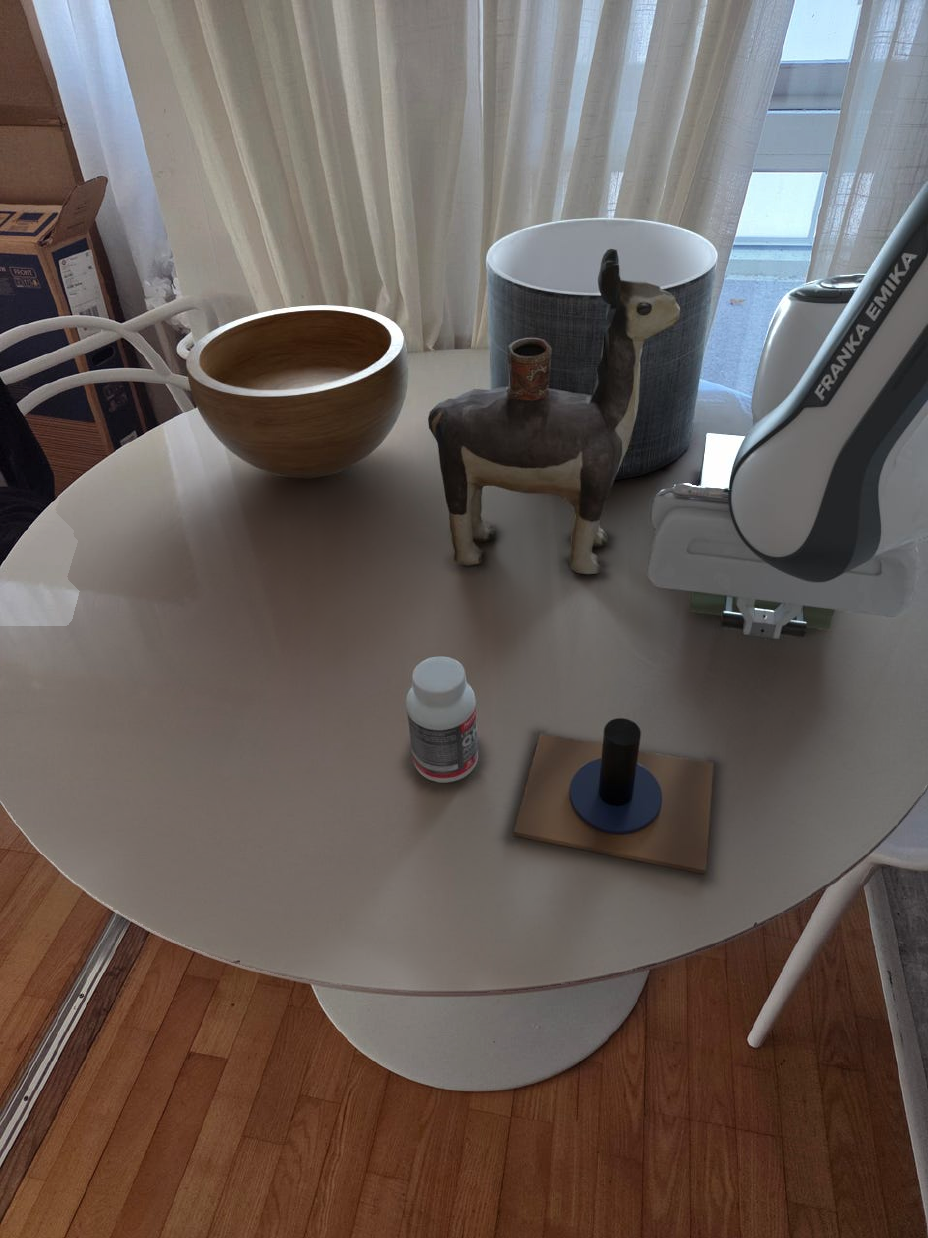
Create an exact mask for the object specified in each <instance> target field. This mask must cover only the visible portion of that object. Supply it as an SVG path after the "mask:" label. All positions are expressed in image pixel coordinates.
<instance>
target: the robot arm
mask: <svg viewBox="0 0 928 1238" xmlns="http://www.w3.org/2000/svg"><path fill="white" fill-rule="evenodd" d="M751 393H752V394H751V399H750V409H751V415H752V421H751V422H752V424H751V428H750V429H749V430H748V431H747V433H746V434H745V436H744V439H743V441H742V443H741V445H740V447H739V450H738V452H737V454H736V457H735V460H734V463H733V467H732V470H731V475H730V481H729V488H725V487H714V486H709V487H708V486H705V487H704V486H702V487H701V486H699V485H698V486H697V485H692V484H691V483H684V482H683V483H679V482H678V483H674V484H673V487H666V488H663V489H661V490H659V491H658V492H657V493H656V494H655V495H654V497H653V498H652V501H651V506H650V507H651V508H650V522H651V524H652V526H653V527H654V529H655V532H654V536H653V540H652V545H651V549H650V554H649V561H648V565H647V566H648V567H647V573H646V574H647V575H646V576H647V577H648V578H649V580H650V581H651V582H652V584H653V585H654V586H655V587H658V588H664V589H672V590H680V591H686V592H687V591H688V592H693V591H695V592H702V593H710V594H718V595H725V596H733V597H737V606H738V608H739V610H740V612H741V614H742V616H743V617H744V625H743V629H742V634H743V635H747V636H753V637H754V636H755V637H762V638H769V639H777V640H779V639H780V637H781V635H780V633H781V629H782V625H783V626H784V625H785V624H787V623H788V622H789V621H791V620H792V619H793V618H795V617H796V616H797V615H799V614H800V613H801V610H802V606H810V607H818V608H826V609H834V611H841V612H842V611H843V612H850V613H857V614H866V615H873V616H881V617H887V618H895V617H896V616H899V615H901V614H902V613H904V612H905V611H908V609H909V608H910V606H911V604H912V602H913V598H914V595H915V592H916V588H917V585H918V579H919V574H920V565H921V564H920V557H919V551H918V543H919V542H920V540H921V539H922V538H924V537H927V536H928V179H927V180H926V181H925V183H924V184H923V186H922V187H921V188H920V190H919V191H918V193H917V194H916V196H915V197H914V199H913V200H912V201H911V203H910V205H909V206H908V208H907V209H906V211H905V212H904V213H903V215H902V217H901V219H899V221H898V223H897V224H896V226H895V227H894V229H893V231H892V232H891V234H890V235H889V237H888V239H887V240H886V242H885V243H884V245H883V246H882V248H881V250H879V252H878V255H877V256H876V257H875V259H874V261H873V262H872V263H871V266H870V267H869V269H868V271H866V273H854V274H845V275H839V274H838V275H834V276H833V275H832V276H828V277H824V278H820V279H816V280H813V281H810V282H807V283H803V284H800V285H799V286H796V287H794V289H792V290H790V291H789V292H787V293H786V294H785V296H783V298H782V300H781V301H780V303H779V305H778V306H777V308H776V310H775V312H774V314H773V316H772V319H771V321H770V323H769V326H768V330H767V333H766V335H765V339H764V342H763V345H762V349H761V353H760V357H759V360H758V365H757V369H756V373H755V379H754V384H753V388H752V392H751ZM755 599H756V600H764V601H772V602H780V603H782V604H781V605H780V606H779V607H778V608H777V609H776V610H775V611H770V610H762V609H756V608H755V607H754V603H755Z"/></svg>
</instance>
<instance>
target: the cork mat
mask: <svg viewBox="0 0 928 1238" xmlns="http://www.w3.org/2000/svg"><path fill="white" fill-rule="evenodd" d="M602 747H603V743H598V742H593V741H587V740H582V739H575V738H569V737H563V736H557V735H551V734H546V733H539V736H538V740H537V742H536V747H535V751H534V754H533V758H532V762H531V765H530V769H529V772H528V777H527V780H526V783H525V788H524V791H523V795H522V799H521V802H520V806H519V810H518V813H517V817H516V821H515V825H514V829H513V836H515V837H519V838H523V839H527V840H528V839H529V840H533V841H539V842H543V843H549V844H553V845H558V846H563V847H569V848H574V849H578V850H584V851H589V852H593V853H599V854H603V855H608V856H613V857H618V858H623V859H628V860H634V861H637V862H643V863H647V864H653V865H658V866H662V867H667V868H673V869H678V870H684V871H688V872H693V873H697V874H703V875H706V872H707V864H708V852H709V851H708V850H709V835H710V822H711V808H712V793H713V780H714V779H713V778H714V777H713V776H714V767H715V766H714V762H709V761H703V760H697V759H691V758H686V757H685V758H684V757H680V756H674V755H668V754H663V753H657V752H652V751H651V752H650V751H645V750H640V749H639V752H638V760H637V763H638V764H640V765H641V766H643V767H644V768H646V769H647V770H648V771H649V772H651V773H652V775H653V776H654V777H655V778H656V780H657V781H658V783H659V785H660V788H661V791H662V805H661V809H660V812H659V814H658V816H657V818H656V819H655V820H654V821H653V822H652V823H651V824H650V825H649V826H647V827H646V828H644V829H642V830H640V831H638V832H635V833H631V834H623V835H618V834H609V833H605V832H601V831H599V830H596V829H594V828H592V827H591V826H589V825H587V824H586V823H585V822H584V821H582V820H581V819H580V818H579V816H578V815H577V814H576V812H575V811H574V809H573V807H572V805H571V802H570V784H571V781H572V779H573V776H574V775H575V773H576V772H577V771H578V770H579V769H580V768H581V767H582V766H584V765H585V764H587V763H589V762H591V761H593V760H596V759H600V758H602Z"/></svg>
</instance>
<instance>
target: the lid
mask: <svg viewBox="0 0 928 1238" xmlns="http://www.w3.org/2000/svg"><path fill="white" fill-rule="evenodd" d="M602 736H603V737H602V744H603V747H602V758H600V759H596V760H593V761H591V762H589V763H587V764H585V765H584V766H582V767H581V768H580V769H579V770H578V771H577V772H576V773H575V775H574V776H573V779H572V781H571V784H570V802H571V805H572V807H573V809H574V811H575V812H576V814H577V815H578V816H579V818H580V819H581V820H582V821H584V822H585V823H586V824H587V825H589V826H591V827H592V828H594V829H596V830H599V831H601V832H605V833H609V834H618V835H623V834H631V833H635V832H638V831H640V830H642V829H644V828H646V827H647V826H649V825H650V824H651V823H652V822H653V821H654V820H655V819H656V818H657V816H658V814H659V812H660V809H661V805H662V791H661V788H660V785H659V783H658V781H657V780H656V778H655V777H654V776H653V775H652V773H651V772H649V771H648V770H647V769H646V768H644V767H643V766H641V765H640V764H638V763H637V760H638V752H639V750H640V744H641V738H642V737H641V736H642V731H641V728H640V727H639V725H638V724H637V723H636V722H634V721H633V720H631V719H628V718H623V717H618V718H613V719H611V720H609V721H608V722H607V723H606V724H605V726H604V728H603V735H602Z"/></svg>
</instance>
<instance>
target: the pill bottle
mask: <svg viewBox="0 0 928 1238" xmlns="http://www.w3.org/2000/svg"><path fill="white" fill-rule="evenodd" d="M466 675H467V674H466V670H465V668H464V666H463V665H462V663H461V662H459V661H458V660H456V659H454V658H452V657H448V656H433V657H428V658H425V659H424V660H422V661H421V662H419V663H418V664H417V665H416V666H415V667H414V669H413V671H412V678H411V679H412V680H411V681H412V686H411V687H410V688H409V691H408V693H407V696H406V699H405V709H406V716H407V722H408V728H409V729H408V730H409V738H410V747H411V753H412V761H413V764H414V767H415V769H416V770H417V771H418V773H419V774H420V775H421V776H422V777H424V778H425V779H427V780H429V781H432V782H436V783H440V784H441V783H444V784H446V783H452V782H456V781H460V780H461V779H464V778H465V777H467V776H468V775H470V774H471V773H472V771H473V770H474V769H475V767H476V766H477V763H478V760H479V740H478V738H479V737H478V722H477V701H476V696H475V695H476V694H475V692H474V690H473V688H472V687H471V685H470V684H469V683H468V682H467V677H466Z"/></svg>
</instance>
